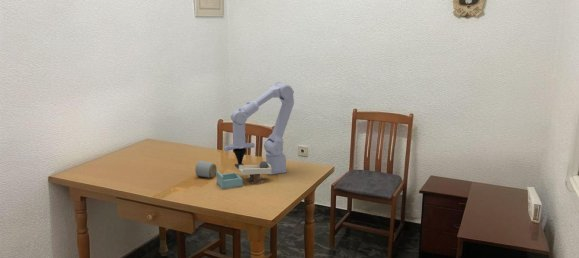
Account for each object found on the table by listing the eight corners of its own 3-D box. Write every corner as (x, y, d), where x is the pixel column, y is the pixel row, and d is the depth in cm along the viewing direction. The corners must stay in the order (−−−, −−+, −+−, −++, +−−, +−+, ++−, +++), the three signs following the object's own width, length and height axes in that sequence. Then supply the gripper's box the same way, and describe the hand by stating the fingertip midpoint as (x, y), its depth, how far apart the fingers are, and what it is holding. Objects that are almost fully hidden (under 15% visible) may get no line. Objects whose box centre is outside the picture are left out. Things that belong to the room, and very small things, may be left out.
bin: (236, 180, 234) (236, 168, 232) (242, 186, 226) (242, 173, 225) (216, 183, 230) (216, 171, 229) (222, 189, 222) (221, 176, 221)
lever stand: (258, 177, 238) (257, 169, 237) (264, 182, 231) (263, 174, 230) (246, 179, 235) (246, 171, 234) (251, 184, 228) (251, 176, 227)
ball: (265, 168, 236) (266, 160, 235) (268, 171, 232) (269, 162, 232) (257, 168, 234) (258, 160, 234) (260, 170, 231) (261, 162, 230)
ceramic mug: (210, 180, 234) (210, 164, 233) (195, 178, 237) (194, 162, 235) (220, 173, 244) (220, 158, 242) (205, 171, 247) (205, 156, 245)
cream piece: (260, 165, 244) (261, 158, 243) (271, 173, 232) (271, 166, 231) (233, 165, 238) (234, 158, 238) (242, 174, 226) (243, 167, 226)
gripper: (226, 139, 227) (227, 167, 231) (256, 136, 233) (256, 163, 236) (222, 135, 234) (223, 163, 237) (251, 132, 239) (251, 159, 243)
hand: (239, 163), depth 237 cm, fingers closed
